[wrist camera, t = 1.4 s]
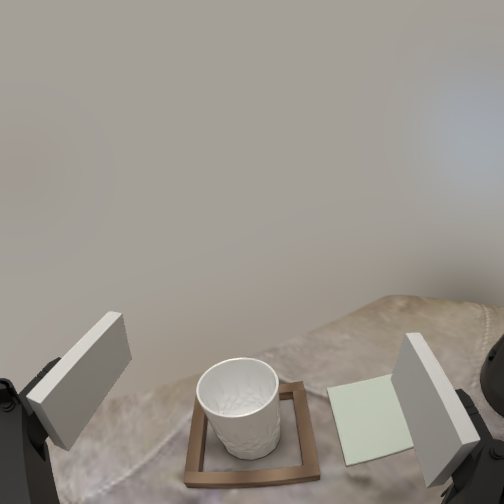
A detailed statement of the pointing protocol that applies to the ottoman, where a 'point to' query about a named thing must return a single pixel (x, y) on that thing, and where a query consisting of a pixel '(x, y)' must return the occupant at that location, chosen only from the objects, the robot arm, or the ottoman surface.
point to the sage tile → (369, 420)
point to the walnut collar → (256, 477)
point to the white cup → (242, 406)
